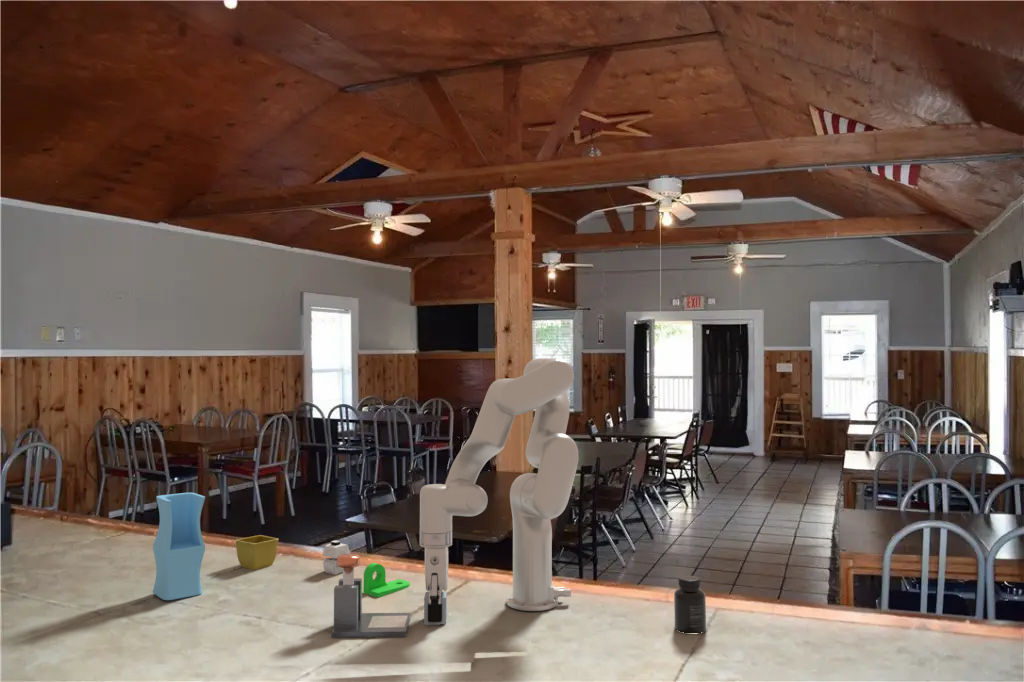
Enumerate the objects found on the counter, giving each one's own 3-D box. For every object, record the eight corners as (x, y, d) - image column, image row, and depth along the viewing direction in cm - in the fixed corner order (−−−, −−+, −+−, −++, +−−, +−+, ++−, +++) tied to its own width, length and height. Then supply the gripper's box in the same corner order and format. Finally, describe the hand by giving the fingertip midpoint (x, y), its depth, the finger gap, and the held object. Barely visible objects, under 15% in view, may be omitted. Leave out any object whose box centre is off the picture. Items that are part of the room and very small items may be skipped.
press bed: (410, 617, 185) (410, 574, 185) (405, 636, 172) (405, 590, 172) (341, 618, 184) (342, 575, 184) (331, 638, 171) (331, 591, 171)
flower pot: (260, 565, 233) (260, 534, 233) (279, 569, 228) (279, 538, 228) (234, 571, 226) (234, 539, 226) (253, 576, 221) (253, 543, 221)
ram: (360, 606, 180) (361, 553, 181) (357, 613, 175) (357, 558, 176) (338, 606, 180) (339, 553, 180) (334, 613, 175) (335, 559, 175)
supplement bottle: (707, 629, 177) (707, 575, 177) (704, 639, 170) (704, 583, 171) (676, 626, 179) (676, 572, 179) (672, 635, 173) (672, 580, 173)
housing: (446, 617, 185) (447, 589, 185) (446, 624, 180) (446, 595, 180) (425, 617, 185) (425, 589, 185) (424, 624, 180) (424, 596, 180)
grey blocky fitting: (351, 575, 221) (352, 540, 222) (334, 581, 216) (335, 544, 216) (336, 572, 224) (336, 537, 225) (319, 578, 219) (319, 542, 219)
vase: (164, 601, 198) (166, 500, 198) (152, 592, 205) (153, 496, 206) (204, 593, 204) (205, 496, 205) (191, 585, 211) (192, 492, 212)
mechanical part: (378, 601, 199) (378, 569, 199) (363, 596, 203) (363, 565, 203) (414, 590, 207) (414, 560, 208) (399, 586, 211) (400, 556, 212)
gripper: (450, 546, 175) (450, 629, 174) (453, 530, 192) (453, 606, 191) (416, 547, 174) (416, 630, 174) (422, 530, 191) (422, 606, 191)
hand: (435, 616), depth 182 cm, fingers closed on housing, 4 cm apart
